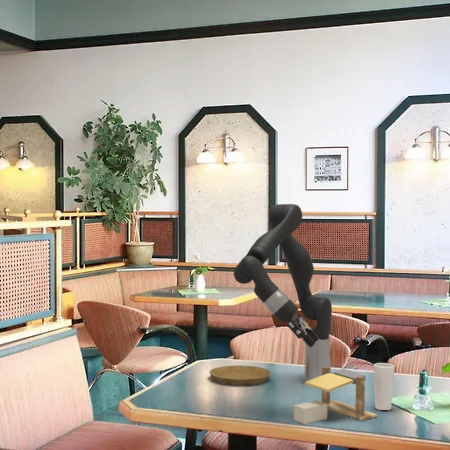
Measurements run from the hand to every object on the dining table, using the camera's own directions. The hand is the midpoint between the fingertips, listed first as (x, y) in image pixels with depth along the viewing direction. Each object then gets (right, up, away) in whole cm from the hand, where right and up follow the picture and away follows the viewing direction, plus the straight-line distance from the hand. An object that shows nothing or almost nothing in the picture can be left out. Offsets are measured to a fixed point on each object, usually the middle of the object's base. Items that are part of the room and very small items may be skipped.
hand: (315, 343), depth 234 cm
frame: (+12, -24, +6) cm, 27 cm away
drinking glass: (+24, -24, +10) cm, 36 cm away
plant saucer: (-23, -23, +49) cm, 59 cm away
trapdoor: (+7, -14, +3) cm, 16 cm away
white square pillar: (+2, -22, 0) cm, 22 cm away
